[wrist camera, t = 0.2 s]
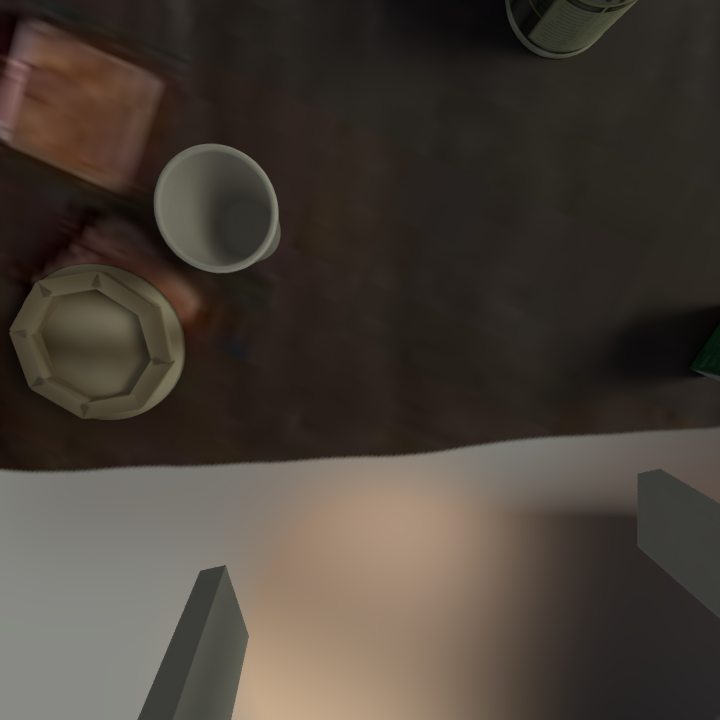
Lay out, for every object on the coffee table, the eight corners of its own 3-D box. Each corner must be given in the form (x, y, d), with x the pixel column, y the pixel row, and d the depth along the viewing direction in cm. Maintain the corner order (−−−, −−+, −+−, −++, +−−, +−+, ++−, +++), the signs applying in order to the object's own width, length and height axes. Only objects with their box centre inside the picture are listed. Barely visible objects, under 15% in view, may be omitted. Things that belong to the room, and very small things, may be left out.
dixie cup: (187, 240, 35) (128, 222, 25) (236, 164, 34) (194, 114, 24) (263, 294, 36) (234, 296, 26) (312, 222, 35) (301, 196, 25)
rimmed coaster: (2, 279, 35) (-23, 278, 32) (162, 252, 35) (148, 249, 33) (56, 428, 38) (36, 438, 35) (202, 402, 38) (193, 410, 36)
